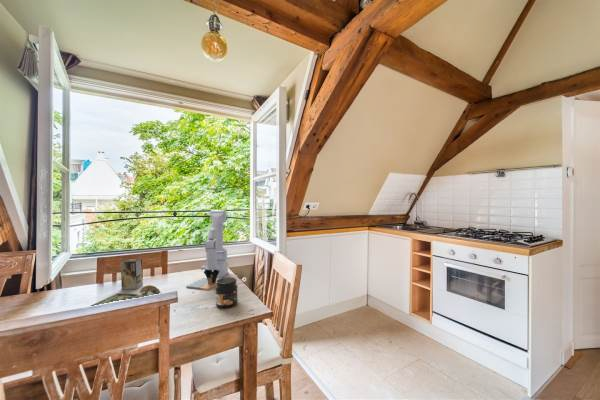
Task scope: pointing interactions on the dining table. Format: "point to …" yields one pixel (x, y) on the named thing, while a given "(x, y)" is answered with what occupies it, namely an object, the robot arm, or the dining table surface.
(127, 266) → the coffee box
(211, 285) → the stub
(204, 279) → the board
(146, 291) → the olive sloped mound
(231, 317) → the dining table surface
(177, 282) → the dining table surface
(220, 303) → the supplement container
